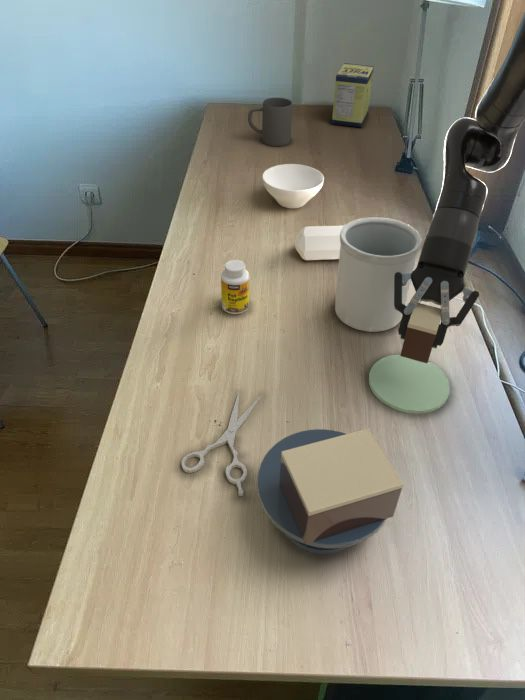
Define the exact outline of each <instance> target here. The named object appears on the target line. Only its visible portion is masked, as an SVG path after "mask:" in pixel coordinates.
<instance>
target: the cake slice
mask: <svg viewBox="0 0 525 700" xmlns="http://www.w3.org/2000/svg"><path fill="white" fill-rule="evenodd" d="M441 317H442V316H441V308H440V307H437V306H433V305H429V304H425V303H422V302H420V303H419V304H418V305H417V306H416V307H415V309H414V310H413V312H412V315H411V317H410V320H409V323H408V326H407V330H406V334H405V338H404V340H403V342H402V347H401V351H400V356H402V357H406V358H409V359H413V360H416V361H420V362H423V363H428V361H430V357H431V353H432V349H433V348H432V347H433V343H434V340H435V337H436V333H437V330H438V327H439V324H441Z"/></svg>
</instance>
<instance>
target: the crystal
mask: <svg viewBox="0 0 525 700" xmlns="http://www.w3.org/2000/svg"><path fill="white" fill-rule="evenodd" d="M345 225H346V224H344V225H311V226H304V227H302V228H301V229H300V230H299V232H298V234H297V236H296V237H295V238H294V249H295V250H296V252H297V253H298V255H299V256H300V258H301V259H302V260H304V261H322V260H339V256H340V246H341V243H340V233H341V230H342V228H343V227H344V226H345Z"/></svg>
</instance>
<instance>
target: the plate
mask: <svg viewBox="0 0 525 700" xmlns="http://www.w3.org/2000/svg"><path fill="white" fill-rule="evenodd" d="M400 354H401V353H400ZM400 354H399V353H398V354H396V353H395V354H391V355H387V356H384V357H382V358H380V359H378V360H377V361H376V362H374V363H373V364H372V365H371V368H370V370H369V373H368V386H369V388H370V390H371V392H372V393H373V395H374V397H375V398H377V400H378V401H380V402H381V403H382V404H383V405H386V406H387V407H388V408H390V409H392V410H395V411H398V412H402V413H405V414H415V415H419V414H420V415H421V414H427V413H431V412H434V411H436V410H438V409H440V408H441V407H442V406H443V405H444V404H445V403H446V402H447V401H448V398H449V395H450V391H451V386H450V384H451V383H450V380H449V379H448V377H447V375H446V373H444V371H443V370H442V369H441V368H440V367H439V366H437V365H436V364H434V363H433V362H432V361H430V360H428V363H423V362H420V361H416V360H413V359H409V358H406V357H402V356H400Z"/></svg>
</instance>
